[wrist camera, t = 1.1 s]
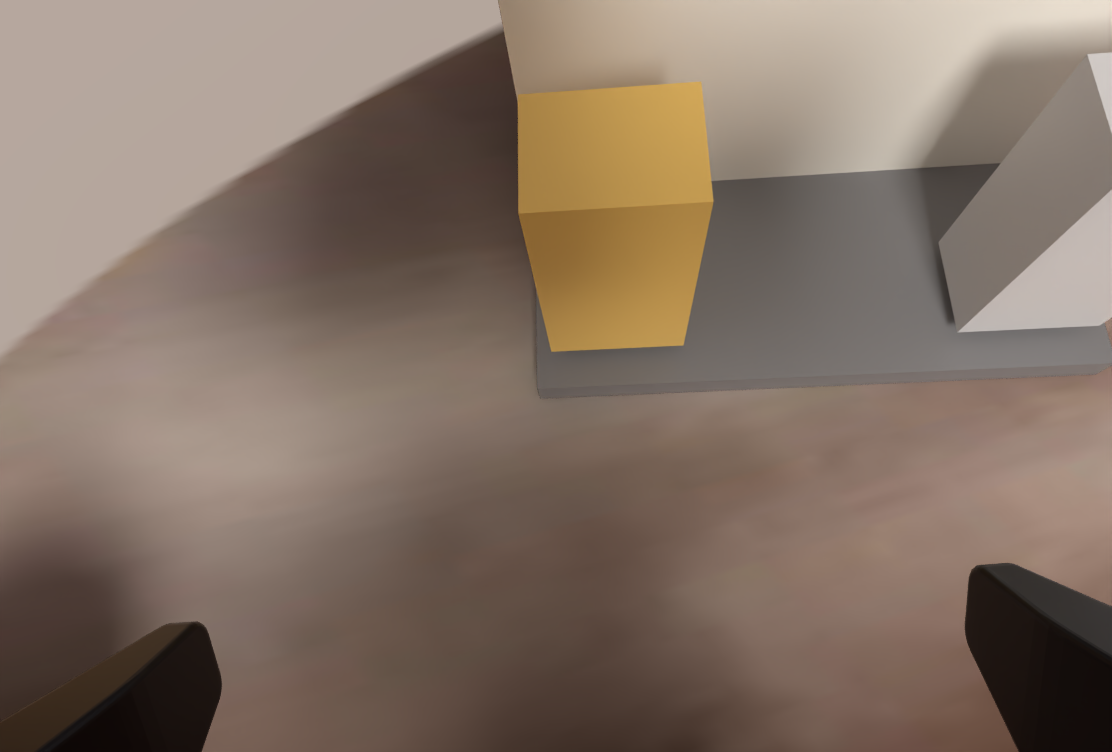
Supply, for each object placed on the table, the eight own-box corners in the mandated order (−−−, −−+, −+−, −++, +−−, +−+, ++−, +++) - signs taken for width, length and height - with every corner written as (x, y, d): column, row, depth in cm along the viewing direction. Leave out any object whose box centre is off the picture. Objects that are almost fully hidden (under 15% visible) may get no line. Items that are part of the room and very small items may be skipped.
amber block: (683, 345, 23) (713, 202, 16) (551, 351, 23) (518, 213, 16) (676, 256, 24) (701, 81, 17) (549, 263, 24) (517, 94, 17)
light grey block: (1099, 325, 22) (1342, 163, 15) (957, 332, 23) (1125, 176, 15) (1073, 234, 23) (1289, 39, 16) (938, 242, 24) (1087, 54, 16)
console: (1095, 374, 23) (1505, 141, 13) (540, 398, 25) (476, 205, 14) (1017, 79, 27) (1281, -297, 16) (536, 112, 28) (483, -218, 17)
